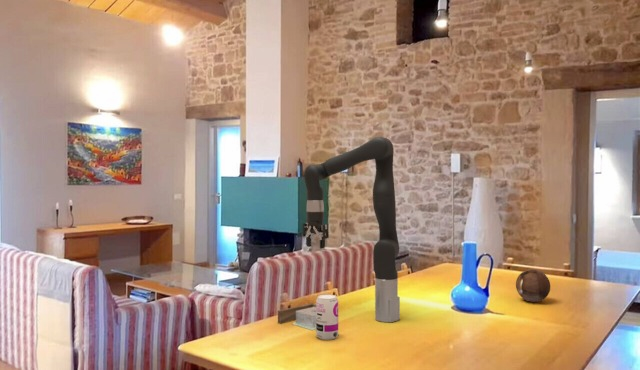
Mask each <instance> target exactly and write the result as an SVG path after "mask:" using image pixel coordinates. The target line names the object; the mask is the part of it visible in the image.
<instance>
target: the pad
mask: <svg viewBox="0 0 640 370" xmlns="http://www.w3.org/2000/svg"><path fill="white" fill-rule="evenodd" d="M291 325H292V326H296V327H300V328H303V329H306V330H309V331H316V330H315V329H316V328H313V329H312V328H309V327H306V326H303V325H299V324H296V322H292V323H291Z"/></svg>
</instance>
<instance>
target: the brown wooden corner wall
mask: <svg viewBox="0 0 640 370" xmlns="http://www.w3.org/2000/svg"><path fill="white" fill-rule="evenodd" d="M311 307H316V303H314V302H310V303H307V304H306V303H305V304H301V305H298V306H293V307H288V308H284V309H279V310H277V323H278V324H280V325H281V324H285V323H289V322H294V321H296V311H298V310H302V309H307V308H311Z"/></svg>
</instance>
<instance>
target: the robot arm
mask: <svg viewBox="0 0 640 370" xmlns="http://www.w3.org/2000/svg"><path fill="white" fill-rule="evenodd" d="M371 160H374V163H375V175H374V176H375V178H374V182H373V187H372V206H373V211H374V214H375V218H376V221H377V225H378V230H379V231H378V232H379V233H378V235H379V237H378V238H379V239H378V241H377V242H376V243H375V245H374V246H373V249H372V250H373V251H372V254H373V257H372V261H373V272H374V298H375V299H374V301H375V302H374V306H375V307H374V309H375V310H374V311H375V312H374V313H375V314H374V316H375V320H376V321H378V322H381V323H394V322H397V321H400V320H401V319H400V318H401V317H400V315H401V313H400V312H401V309H400V306H401V300H400V296H398V294H399V293H398V288H399V287H398V284H399V282H398V280H399V279H398V276H399V275H398V271H397V268H396V258H397V257H398V255H399V254H400V243H399V239H398V238H399V237H398V231H397V212H396V208H397V206H396V204H397V203H396V191H395V180H394V167H393V166H394V145H393V143H392V141H391V140H390V139H389V138H387V137H383V136H376V137H374V138H372V139H369V140H368V141H367V142H364V143H363V144H362V145H360V146H357V148H354V149H352V150H349V151H347V152H344V153H340V154H338V155H336V156H334V157H330V158H328V159H326V160H325V161H324V162H322V163H319V164H309V165H308V166H306V167H305V168H304V169H305V170H304V173H303V174H304V175H303V176H304V177H303V178H304V183H305V186H306V187H305V188H306V191H307V192H306V200H307V201H306V221H307V222H303V223H302V237H304V238H305V245H306V247H307V248H309V247H311V246H312V236H313V235H317V237H318V238H319V248H320V250H322V249H325V247H326V240H327V239H329V235H330V234H329V233H330V232H329V224H323V222H324V221H325V205H324V189H323V187H322V186H321V183H320V181H322V180H325V179H327V178H329V177H331V176H333V175H337V174H339V173H341V172H344V171H347V170H348V169H351V168H353V167H354V166H356V165H358V164H361V163H363V162H366V161H371Z"/></svg>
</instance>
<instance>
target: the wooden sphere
mask: <svg viewBox="0 0 640 370" xmlns="http://www.w3.org/2000/svg"><path fill="white" fill-rule="evenodd" d="M515 287H516V292H517V293H518V295H519V296H520V297H521V298H522V299H524V301H527V302H531V303H538V302H542V301H544V300H545V299H546V298H547V297H548V295H549V294H550V292H551V281H550V279H549V277H548V276H547V275H546V274H545V273H544V272H543V271H541V270H538V269H534V268H533V269H527V270H524V271H521V273H519V274H518V276H517V278H516V281H515Z"/></svg>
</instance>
